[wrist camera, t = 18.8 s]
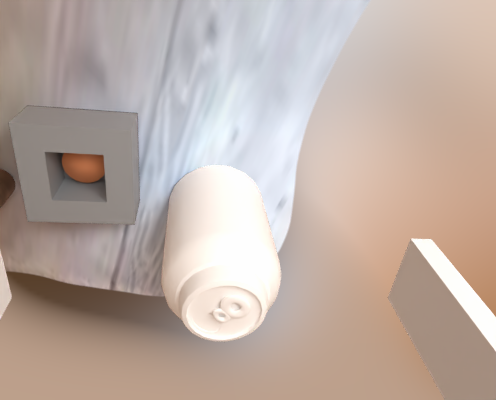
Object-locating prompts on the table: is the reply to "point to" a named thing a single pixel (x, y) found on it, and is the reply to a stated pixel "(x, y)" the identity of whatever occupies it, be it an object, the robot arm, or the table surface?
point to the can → (219, 254)
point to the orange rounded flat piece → (84, 166)
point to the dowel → (5, 186)
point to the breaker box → (81, 142)
